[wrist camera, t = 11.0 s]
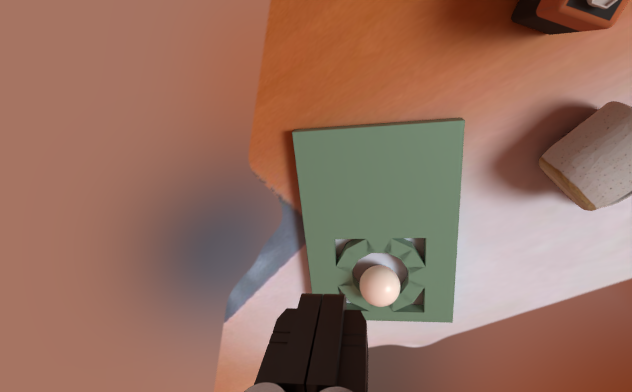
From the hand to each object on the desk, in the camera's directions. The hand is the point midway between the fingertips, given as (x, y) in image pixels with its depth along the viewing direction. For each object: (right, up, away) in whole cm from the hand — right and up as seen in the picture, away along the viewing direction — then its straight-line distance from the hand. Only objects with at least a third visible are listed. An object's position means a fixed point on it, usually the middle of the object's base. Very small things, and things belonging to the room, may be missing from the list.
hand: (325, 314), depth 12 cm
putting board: (+7, 0, +31) cm, 31 cm away
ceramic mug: (+28, +8, +24) cm, 38 cm away
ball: (+8, -7, +31) cm, 32 cm away
